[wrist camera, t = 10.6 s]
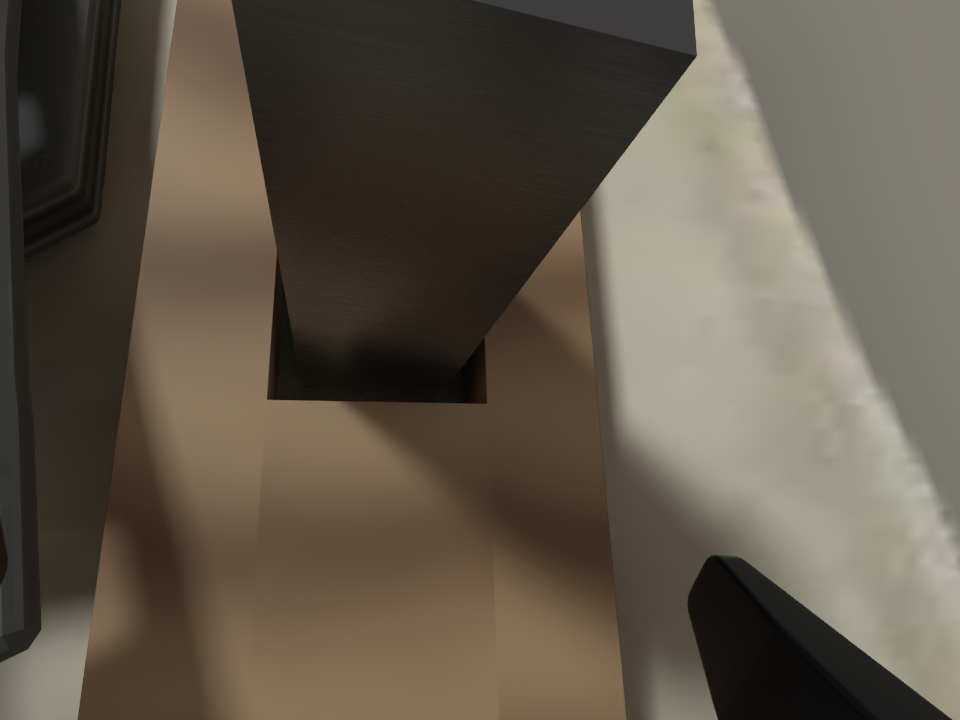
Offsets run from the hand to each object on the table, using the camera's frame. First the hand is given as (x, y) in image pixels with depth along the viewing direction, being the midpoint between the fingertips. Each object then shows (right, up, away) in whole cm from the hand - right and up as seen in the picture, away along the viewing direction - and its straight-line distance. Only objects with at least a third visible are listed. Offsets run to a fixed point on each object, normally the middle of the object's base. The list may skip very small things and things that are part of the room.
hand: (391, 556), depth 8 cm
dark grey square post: (-2, +3, +11) cm, 12 cm away
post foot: (-2, +3, +11) cm, 12 cm away
